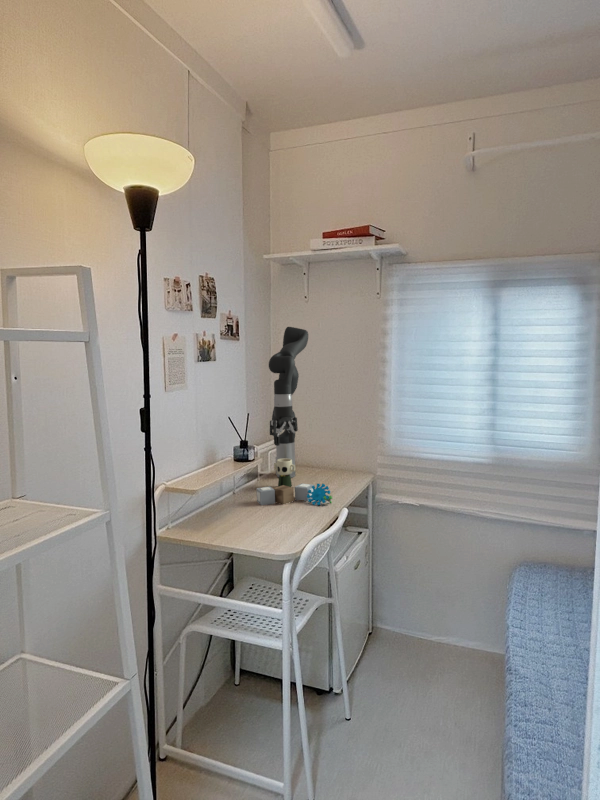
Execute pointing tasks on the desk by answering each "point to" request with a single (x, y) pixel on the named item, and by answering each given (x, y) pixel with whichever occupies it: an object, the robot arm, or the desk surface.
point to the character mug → (284, 471)
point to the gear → (319, 494)
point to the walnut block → (284, 494)
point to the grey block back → (303, 491)
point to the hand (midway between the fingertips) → (284, 443)
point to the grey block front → (265, 495)
